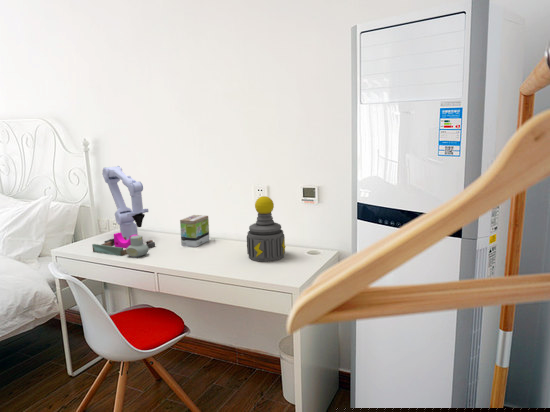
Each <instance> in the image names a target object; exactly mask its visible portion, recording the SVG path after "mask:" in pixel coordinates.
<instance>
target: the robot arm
mask: <svg viewBox="0 0 550 412" xmlns="http://www.w3.org/2000/svg"><path fill="white" fill-rule="evenodd" d="M102 177H103V179H104V182H105V183H106V184H107V186H108V188H109V191H110V193H111V195H112V199H113V201H114V204H115V206H116V209H117V210H116V211H115V213H114V216H115V222H116V223H117V224H118V225H119V233H122V236H123V237H126V239H127V240H128V239H129V238H130V236H132V235H139V234H138V228H141V227H142V226H143V220H144V218H145V213H149V208H144V207H143V197H142V196H143V195H142V192H143V191H144V186H143V185H144V184H143V183H142V182H141V181H137V180H136V179H134V178H133V177H132V176H131V175H126V173H124V172H123V169H122V167H121V166H119V165H117V166H109V167H103V169H102ZM120 180H121V181H122V184H123V185H124V186H125V187H126V188H127V190H128V192H129V195H130V199H131V208H130V207H128V206H126V203H125V200H124V197H123V195H122V192H121V189H120V188H119V185H118V183H119V182H120Z"/></svg>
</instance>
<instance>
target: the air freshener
mask: <svg viewBox="0 0 550 412" xmlns="http://www.w3.org/2000/svg"><path fill="white" fill-rule="evenodd" d="M130 241H131V245H130V246H128V248H127V249H126V248H125V249H126V252H127V254H126V255H128V256H130V257H132V258H139V257H143V256H145V255H146V254H148V252H149V250H150V249H149V248H148V246H147V245H146V243H144V240H143V235H140V234H138V235H136V236H132V237H131V238H130Z"/></svg>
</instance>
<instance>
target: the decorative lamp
mask: <svg viewBox="0 0 550 412" xmlns="http://www.w3.org/2000/svg"><path fill="white" fill-rule="evenodd" d="M274 205H275V204H274V201H273V200H272V198H271V197H269V196H266V195H265V196H259V197H258V198H257V199H256V201H255V202H254V208H255V210H256V212H257V217H256V221H255V223H252V224H250V225H249V227H248V229H249V230H248V231H247V235H246V247H247V248H246V249H247V250H246V253H247V255H248V259H250V260H251V261H254V262H260V263H263V262H267V263H269V262H275V261H278V260H280V259H282V258H284V257H285V253H286V243H285V241H286V239H285V234H284V230H283V229H282V224H280V223H278V222H276V221H274V220H273V219H274V217H273V215H272V212H273V211H274V208H275V207H274ZM268 261H269V262H268Z"/></svg>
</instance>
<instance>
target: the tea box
mask: <svg viewBox="0 0 550 412" xmlns="http://www.w3.org/2000/svg"><path fill="white" fill-rule="evenodd" d="M179 223H180V227H179V228H180V243H181V246H182V247H192V248H196V247H199V246H201V245H202V244H204V243H207V242H208V241H210V224H209V223H210V222H209V215H203V214H200V215H199V214H193V215H190V216H188V217H185V218H182V219H180V220H179Z"/></svg>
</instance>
